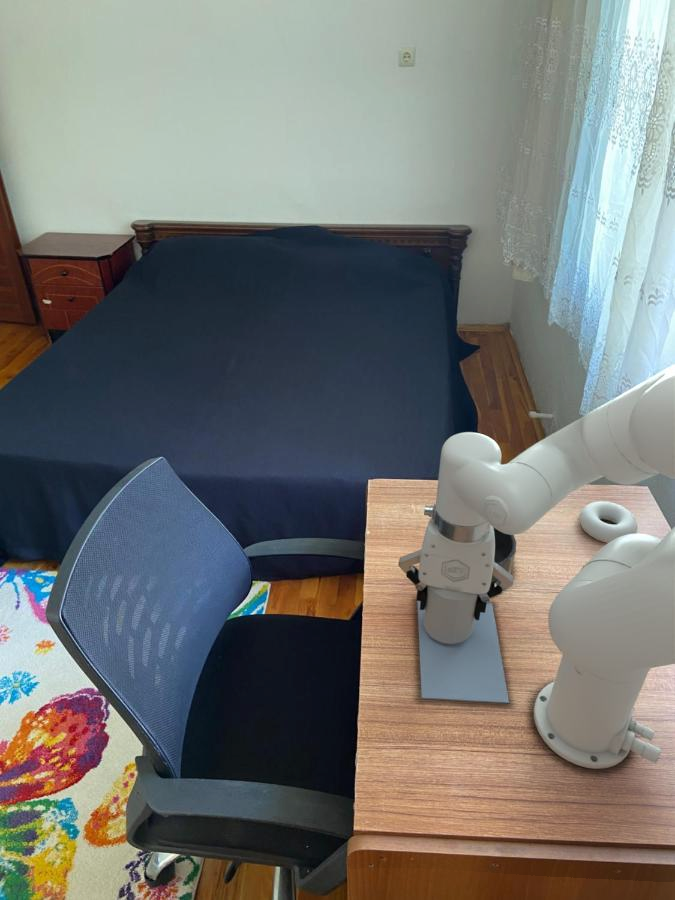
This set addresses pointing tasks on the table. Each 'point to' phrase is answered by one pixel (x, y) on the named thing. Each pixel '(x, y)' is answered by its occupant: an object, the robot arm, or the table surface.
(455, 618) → the can
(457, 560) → the robot arm
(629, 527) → the donut
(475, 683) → the cloth
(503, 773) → the table surface
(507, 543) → the pot
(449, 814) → the table surface
